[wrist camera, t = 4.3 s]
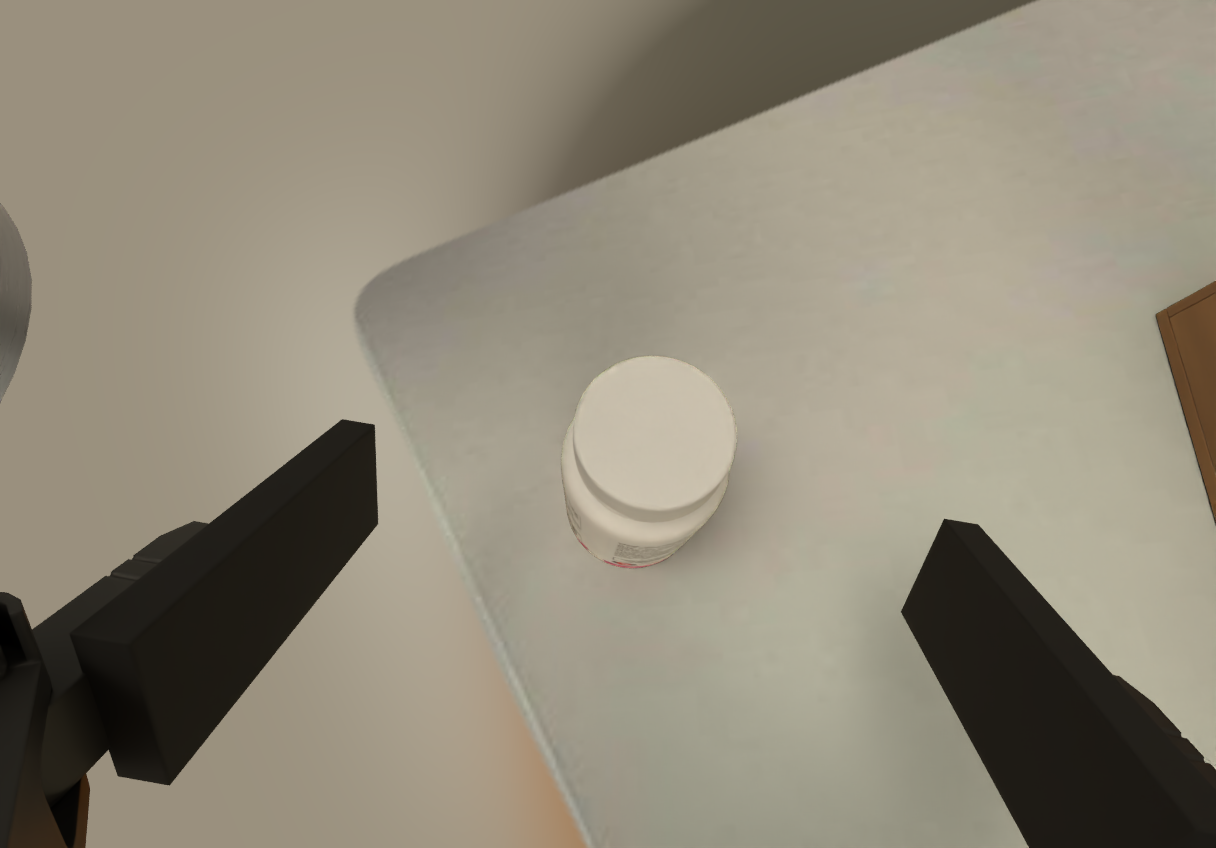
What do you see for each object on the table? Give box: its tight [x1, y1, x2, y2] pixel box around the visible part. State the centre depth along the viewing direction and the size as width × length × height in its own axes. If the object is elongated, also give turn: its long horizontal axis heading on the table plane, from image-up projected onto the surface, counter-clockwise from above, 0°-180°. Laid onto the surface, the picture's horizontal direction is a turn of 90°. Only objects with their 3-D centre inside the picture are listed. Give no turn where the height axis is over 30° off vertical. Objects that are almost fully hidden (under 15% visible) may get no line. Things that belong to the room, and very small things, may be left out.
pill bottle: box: [561, 356, 737, 568], centre depth 17 cm, size 5×5×8 cm
